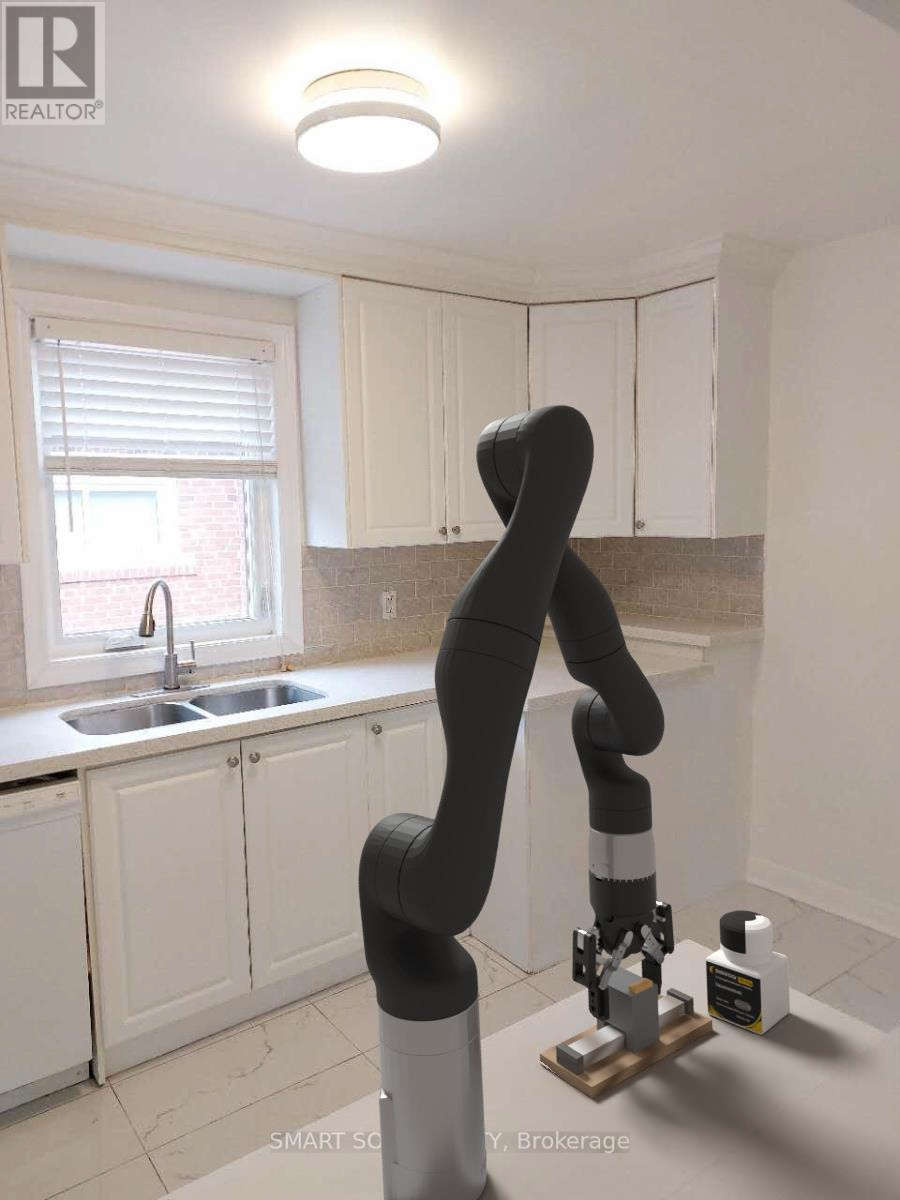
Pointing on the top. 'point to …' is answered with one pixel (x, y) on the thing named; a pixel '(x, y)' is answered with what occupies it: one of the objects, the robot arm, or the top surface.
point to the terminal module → (633, 1009)
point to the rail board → (624, 1047)
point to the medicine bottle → (747, 974)
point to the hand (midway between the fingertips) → (626, 1005)
